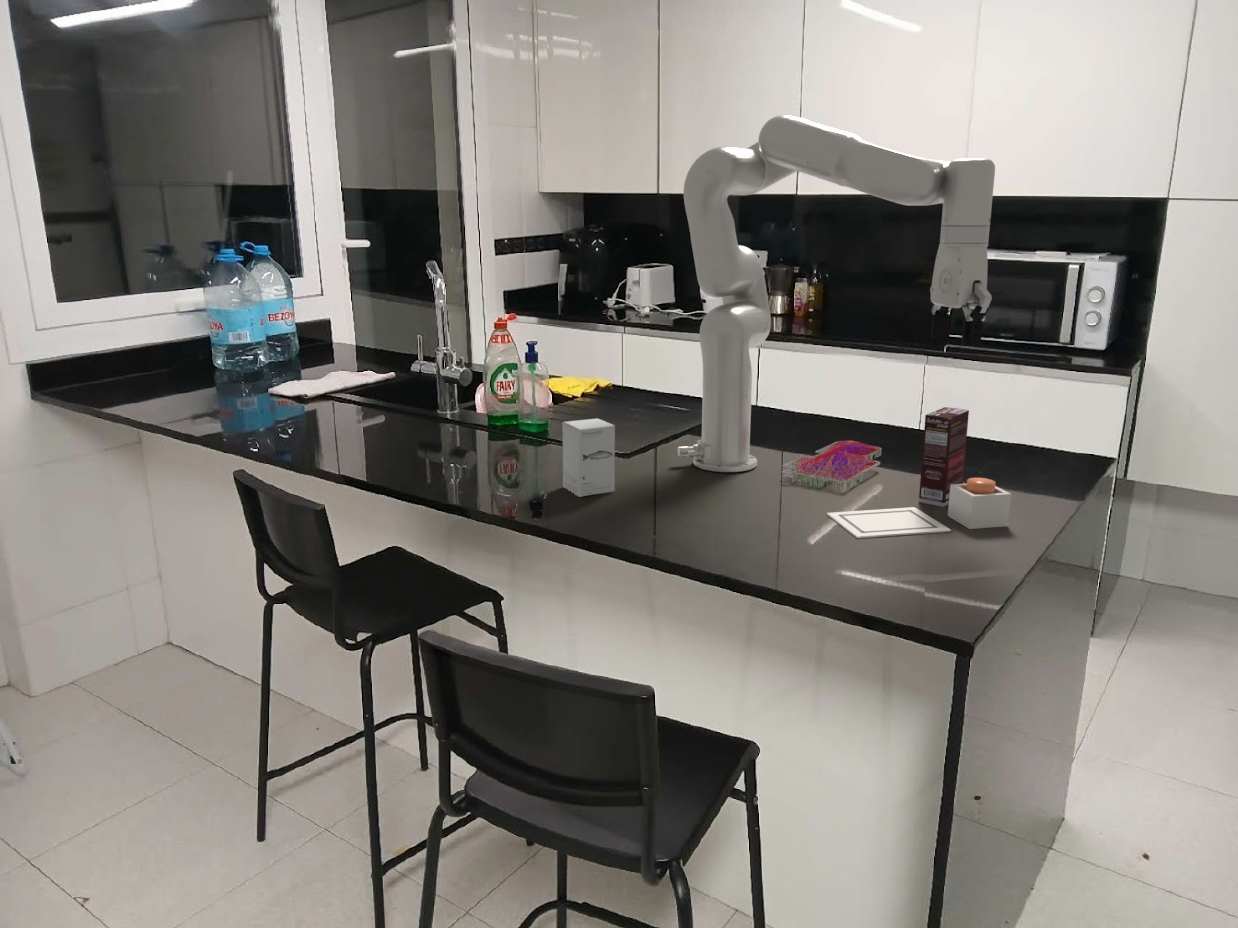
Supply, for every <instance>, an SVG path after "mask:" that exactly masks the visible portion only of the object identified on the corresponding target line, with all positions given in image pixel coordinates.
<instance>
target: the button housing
mask: <svg viewBox="0 0 1238 928" xmlns="http://www.w3.org/2000/svg"><path fill="white" fill-rule="evenodd" d="M966 485H967V482H966V483H963V484H951V485H950V496H949V504H948V505H947V506H948V509H947V517H949V518H950V519H953V520H954V521H955V522H957V523H958V524H961V525H962V526H964V527H965V528H966V529H967V528H968V529H969V530H973V529H975V530H976V529H988V528H1004V527H1009V518H1010V509H1011V503H1012V501H1011V500H1012V493H1011V492H1009V491H1006V490H1005V489H1003V488H1001V487H998V486H996V485H995V493H993V494H977V495H974V494H972V493H971V492H969V491H967V490H966Z"/></svg>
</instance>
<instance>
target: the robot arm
mask: <svg viewBox="0 0 1238 928" xmlns="http://www.w3.org/2000/svg"><path fill="white" fill-rule="evenodd" d="M796 172H798V173H802V174H804V175H808V176H811V177H815V178H817V179H821V180H823V181H827V182H829V183H833V184H835V185H838V186H841V187H846V188H849V189H852V190H855V191H858V192H862V193H864V194H866V195H871V196H873V197H876V198H880V199H883V200H886V201H889V202H893V203H895V204H899V205H903V206H910V207H911V206H916V207H917V206H918V207H920V206H921V207H922V206H923V207H924V206H933V205H938V204H939V205H940V204H942V210H941V211H942V212H941V213H942V215H941V224H940V226H941V227H940V235H939V236H940V238H939V245H938V249H937V253H936V256H935V262H934V267H933V273H932V279H931V280H932V281H931V286H930V287H929V292H930V304H931V307H932V308H931V313H932V325H931V336H930V337H931V338H934V339H943V338H945V339H946V338H949V337H950V336H951V324H952V323H951V322H952V314H950V313H951V310H952V309H960V308H962V311H963V314H964V317H965V320H963V321H962V331H961V332H962V333H961V345H962V346H964V347H967V346H968V347H969V346H980V345H981V343H982V334H983V326H984V325H983V323H984V321H986V315H987V313H988V312H989V306H990V304H991V301H992V300H993V296H992V294H991V293H990V292H989V290H988V266H989V264H988V262H989V261H988V247H989V239H990V237H989V236H990V228H991V227H990V226H991V218H992V206H993V195H994V185H995V175H996V165H995V163H994V161H993V160H992V159H989V158H981V157H979V158H977V157H976V158H974V157H973V158H972V157H971V158H970V157H969V158H957V159H952V160H951V161H947V160H946V161H945V160H937V159H930V158H925V157H918V156H914V155H911V154H906V153H903V152H900V151H899V152H898V151H895V150H892V149H889V148H886V147H882V146H878V145H876V144H873V143H871V142H867V141H865V140H863V139H862V138H861V137H860V136H858V135H857V134H854V133H852V132H848V131H844V130H840V129H837V128H834V127H831V126H827V125H824V124H820V123H816V122H813V121H810V120H809V119H806V118H803V117H798V116H793V115H788V114H786V115H785V114H782V115H781V114H780V115H777V116H774V117H771V118H770V119H769V120H768V121H766V122H765V123H764V125H763V126H762V128H761V129H760V132H759V136H758V142H755V143H754V144H752V145H749V146H748V147H747V148H743V147H735V146H718V147H713V148H711V149H709V150H706V151H705V152H704V153H703V154H701V155H700V156H699V157H698V158H696V160H695V161H693V163H692V165H691V166H690V168H689V169H688V171H687V173H686V176H685V179H684V183H683V184H684V185H683V201H684V202H683V203H684V207H685V214H686V217H687V222H688V228H689V232H690V233H689V234H690V235H689V236H690V243H691V248H692V254H693V260H694V266H695V272H696V278H697V279H696V280H697V282H698V286H699V287H700V289H701V291H702V292H703V293H704V294H705V295H707V296H709V297H712V298H721V299H722V304H720V305H718V306H716V307H713V308H712V309H711V310H710V311H708V312H707V313H706V315H704V317H703V320H702V321H701V323H700V327H699V342H700V343H699V344H700V350H701V358H702V361H701V362H702V401H701V402H702V406H701V407H702V408H701V409H702V410H701V439H697V440H696V442H697V443H694V444H693V445H692V446H687V445H684V446H683V445H681V446H677V456H678V457H683V456H685V457H686V456H687V458H693V459H692V460H693V461H692V462H693V465H694V466H695V467H697V468H699V469H701V470H703V471H704V470H705V471H708V472H709V471H710V472H715V473H716V472H717V473H739V472H745V471H750V470H752V469H755V467H757V466H758V459H757V458H756V456H754V455H752V454H750V444H751V443H750V441H751V420H752V419H751V416H752V392H753V391H752V389H753V388H752V387H753V386H752V385H753V370H752V362H751V358H750V357H751V356H750V349H754V348H756V347H758V346H759V345H761V344H763V343H764V342H765V340H766V339H767V338H768V336H769V335H770V331H771V327H772V326H771V325H772V320H771V319H772V317H771V311H770V305H769V304H770V303H769V298H768V297H769V296H768V291H767V284H766V278H765V272H764V269H763V265H762V262H761V260H760V258H759V256H758V255H757V254H756V253H755V252H754V251H753V250H752V249H751V248H749V247H747V246H745V245H740V244H738V239H737V238H738V237H737V233H736V225H735V219H734V217H733V214H732V212H731V208H730V206H729V203H728V197H729V196H750V195H754V194H756V193H757V194H758V193H759V192H761V191H763V190H765V189H767V188H769V187H771V186H773V185H774V184H776V183H778V182H779V181H781V180H783V179H786V178H787V177H789V176H790V175H792V174H794V173H796Z"/></svg>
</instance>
